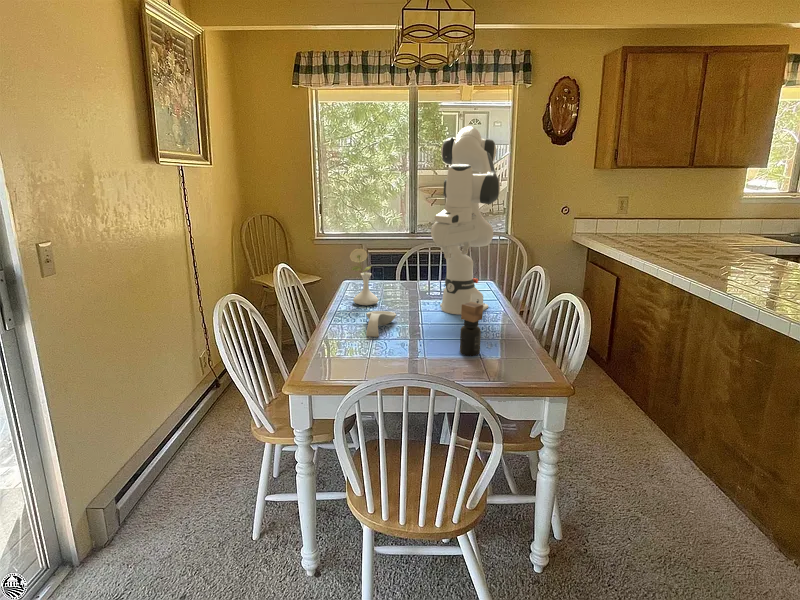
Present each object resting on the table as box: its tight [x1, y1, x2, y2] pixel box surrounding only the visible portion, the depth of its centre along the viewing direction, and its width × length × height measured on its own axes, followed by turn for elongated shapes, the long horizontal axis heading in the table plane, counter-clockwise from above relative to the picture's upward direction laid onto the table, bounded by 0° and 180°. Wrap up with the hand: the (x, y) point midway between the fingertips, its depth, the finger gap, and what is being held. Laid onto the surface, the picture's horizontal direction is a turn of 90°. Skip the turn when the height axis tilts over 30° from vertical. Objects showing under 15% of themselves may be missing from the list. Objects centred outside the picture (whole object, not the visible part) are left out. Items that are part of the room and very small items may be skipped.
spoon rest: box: [365, 310, 397, 338], centre depth 194 cm, size 24×12×7 cm, turn 173°
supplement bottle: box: [459, 320, 482, 357], centre depth 168 cm, size 7×7×12 cm
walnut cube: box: [460, 302, 484, 322], centre depth 166 cm, size 5×5×5 cm
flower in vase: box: [348, 248, 380, 306], centre depth 223 cm, size 13×11×25 cm
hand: (456, 256), depth 170 cm, fingers open, 8 cm apart
